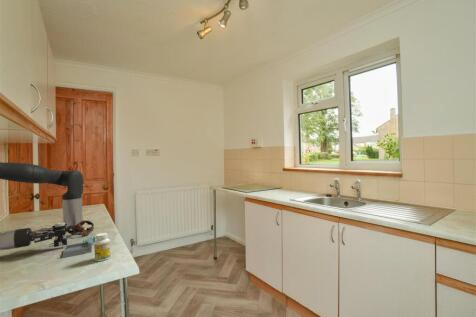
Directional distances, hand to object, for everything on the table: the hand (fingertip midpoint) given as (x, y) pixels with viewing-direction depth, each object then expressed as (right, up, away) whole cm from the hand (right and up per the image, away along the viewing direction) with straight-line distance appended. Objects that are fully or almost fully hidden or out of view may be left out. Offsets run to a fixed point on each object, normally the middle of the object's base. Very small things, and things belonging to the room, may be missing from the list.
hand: (65, 231), depth 108 cm
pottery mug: (-5, -8, +17) cm, 19 cm away
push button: (-2, -6, -1) cm, 7 cm away
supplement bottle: (+24, -7, -14) cm, 29 cm away
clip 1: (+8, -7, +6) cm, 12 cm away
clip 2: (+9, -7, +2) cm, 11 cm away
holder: (+9, -7, -5) cm, 13 cm away
